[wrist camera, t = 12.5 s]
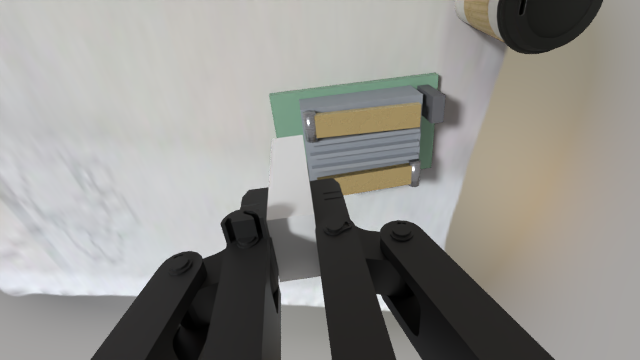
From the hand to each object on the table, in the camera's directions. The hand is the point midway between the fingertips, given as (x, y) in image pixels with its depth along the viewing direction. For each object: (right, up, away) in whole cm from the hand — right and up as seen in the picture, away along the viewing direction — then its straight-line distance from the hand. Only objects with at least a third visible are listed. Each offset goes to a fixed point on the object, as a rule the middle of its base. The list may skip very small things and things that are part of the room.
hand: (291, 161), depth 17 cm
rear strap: (+8, -1, +31) cm, 32 cm away
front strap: (+7, +7, +27) cm, 28 cm away
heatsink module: (+7, +7, +35) cm, 36 cm away
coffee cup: (+22, +23, +27) cm, 42 cm away
